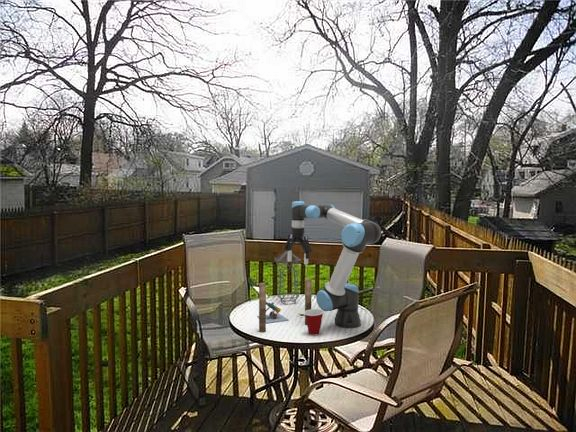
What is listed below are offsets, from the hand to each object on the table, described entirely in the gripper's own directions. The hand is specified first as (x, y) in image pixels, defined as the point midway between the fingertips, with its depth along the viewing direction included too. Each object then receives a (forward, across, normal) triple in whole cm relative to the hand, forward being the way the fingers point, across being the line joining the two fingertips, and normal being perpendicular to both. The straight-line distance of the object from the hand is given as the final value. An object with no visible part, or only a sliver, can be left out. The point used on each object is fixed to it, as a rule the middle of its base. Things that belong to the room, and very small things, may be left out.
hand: (297, 262), depth 266 cm
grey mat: (+33, +7, +14) cm, 36 cm away
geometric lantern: (+33, +27, -19) cm, 47 cm away
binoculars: (+32, +7, +14) cm, 36 cm away
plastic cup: (+33, -27, +16) cm, 45 cm away
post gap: (+33, -10, +20) cm, 40 cm away
